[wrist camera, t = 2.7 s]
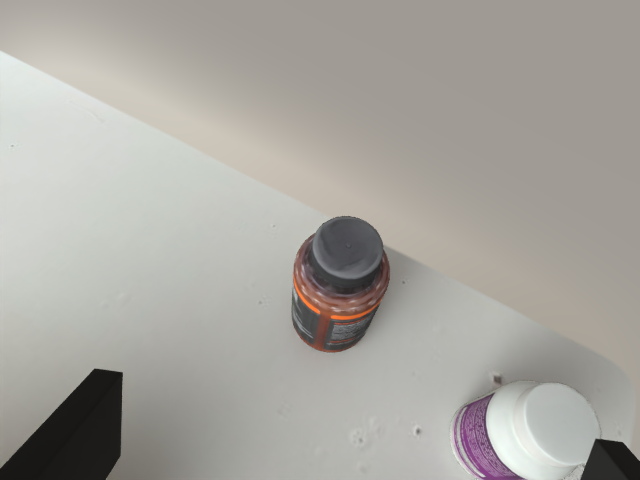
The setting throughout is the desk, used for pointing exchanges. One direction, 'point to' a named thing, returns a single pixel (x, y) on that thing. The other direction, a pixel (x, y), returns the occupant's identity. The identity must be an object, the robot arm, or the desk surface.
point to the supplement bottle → (338, 283)
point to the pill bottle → (524, 432)
